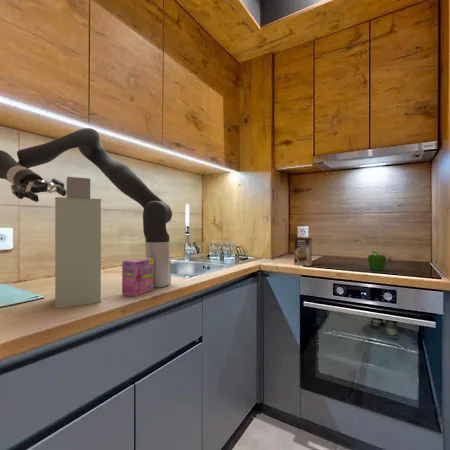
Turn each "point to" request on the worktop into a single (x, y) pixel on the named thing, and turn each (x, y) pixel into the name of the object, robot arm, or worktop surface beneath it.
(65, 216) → the stand
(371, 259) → the bell pepper
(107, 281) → the worktop surface
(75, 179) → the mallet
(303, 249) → the coffee box
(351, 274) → the worktop surface
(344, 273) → the worktop surface
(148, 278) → the box
